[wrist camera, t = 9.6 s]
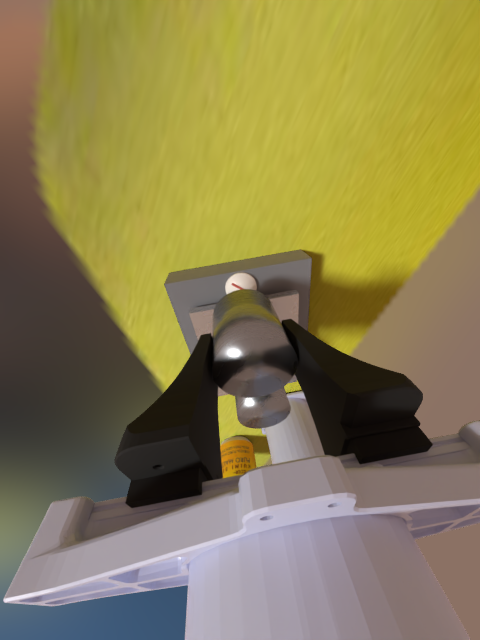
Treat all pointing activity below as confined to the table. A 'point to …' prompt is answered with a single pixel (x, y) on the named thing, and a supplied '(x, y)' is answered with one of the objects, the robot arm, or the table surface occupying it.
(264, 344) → the cylinder
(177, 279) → the scale base
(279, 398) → the steel weight
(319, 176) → the table surface
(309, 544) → the robot arm
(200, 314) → the scale pan
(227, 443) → the beer can
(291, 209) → the table surface
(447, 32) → the table surface
